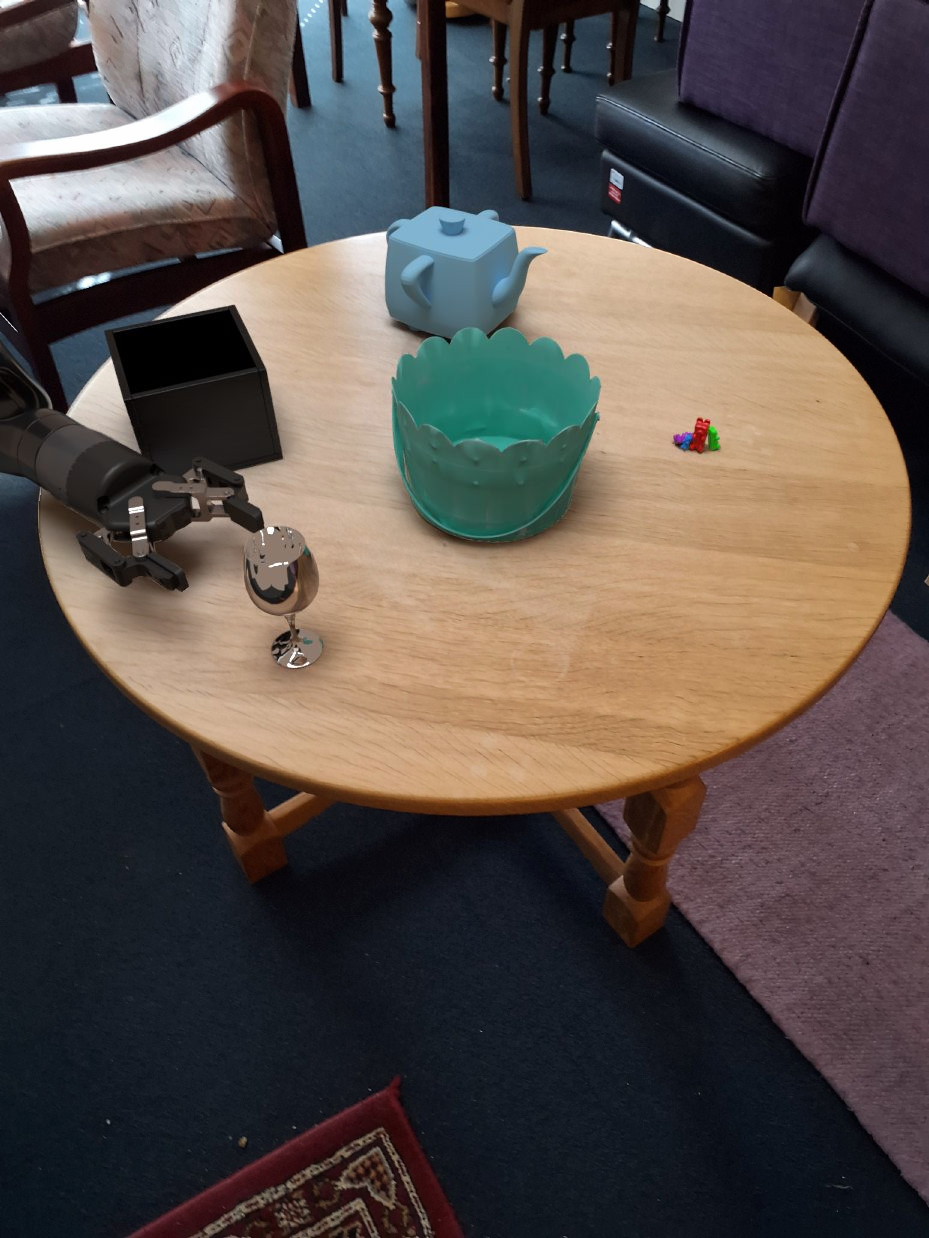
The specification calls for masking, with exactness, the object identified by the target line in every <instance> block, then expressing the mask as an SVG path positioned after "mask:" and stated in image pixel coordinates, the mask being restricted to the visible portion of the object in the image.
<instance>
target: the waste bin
mask: <svg viewBox="0 0 929 1238" xmlns="http://www.w3.org/2000/svg"><path fill="white" fill-rule="evenodd" d="M103 333H104V336H105V340H106V344H107V348H108V351H109V355H110V358H111V361H112V365H113V369H114V373H115V377H116V379H117V383H118V387H119V390H120V394H121V397H122V401H123V404H124V406H125V407H124V408H125V410H126V413H127V416H128V419H129V422H130V425H131V428H132V431H133V434H134V437H135V440H136V443H137V445H138V450H139V452H140V454H141V455H143V456H145V457H147V458H148V459H150V460H152V461H153V462H155V463H156V464H157V465H159V466H160V467H161V468H162V469H163V470H164V471H165V472H166V473H169V474H174V475H181V476H182V475H184V474H185V473H187V472H188V471H189V470H191V469H192V468H193V465H192V459H193V458H195V457H204V458H206V459H208V460H210V461H212V462H214V463H216V464H219V465H221V466H223V467H225V468H227V469H229V470H231V471H234V472H235V471H238V470H242V469H247V468H251V467H254V466H259V465H262V464H267V463H271V462H274V461H279V460H282V459H284V453H283V449H282V443H281V439H280V434H279V433H280V432H279V428H278V422H277V418H276V411H275V406H274V402H273V397H272V392H271V390H272V389H271V385H270V381H269V377H268V376H269V375H268V370H267V367H266V365H265V363H264V361H263V359H262V357H261V355H260V352H259V351H258V348H257V347H256V344H255V342H254V341H253V338H252V337H251V335H250V332H249V330H248V329H247V327H246V324H245V322H244V321H243V319H242V316H241V314H240V312H239V310H238V307H237V306H236V304H230V305H224V306H220V307H215V308H208V309H204V310H199V311H195V312H190V313H184V314H179V315H175V316H170V317H165V318H159V319H154V320H150V321H144V322H139V323H135V324H130V325H124V326H118V327H115V328H114V327H113V328H110V329H109V328H108V329H104V330H103Z"/></svg>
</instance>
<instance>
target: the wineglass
mask: <svg viewBox="0 0 929 1238" xmlns="http://www.w3.org/2000/svg"><path fill="white" fill-rule="evenodd" d="M242 557H243V559H242V574H243V582H244V586H245V590H246V592H247V595H248V597H249V599H250V601H251V602H252V604H254V606H255V607H257V609H259V610H260V611H262V612H264V613H265V614H268V615H270V616H275V617H284V619H285V620H286V621H287V624H288V626H289V630H286V631H284V632H282V633H281V634H280V635H278V636H277V637H276V638H275V639H274V641H273V642H272V645H271V647H270V655H271V658H272V660H273V661H274V663H276V664H278V665H279V666H280V667H283V668H285V669H291V670H292V669H293V670H294V669H295V670H296V669H302V668H303V669H304V668H306V667H308V666H310V665H312V664H314V663H315V662H316V661H317V660H318V659H319V658H320V657H321V655H322V653H323V650H324V642H323V638H321V636H320V635H319V634H318V633H316V631H313V630H311V629H307V628H297V627H296V615H297V614H299V613H301V612H302V611H304V610H305V609H306V608H308V607H309V606H311V604H312V603H313V602H314V599H315V598H316V596H317V595H318V591H319V587H320V574H319V569H318V565H317V562H316V558H315V556H314V554H313V552H312V549H311V547H310V545H309V544H308V542H307V540H306V538H305V536H304V535H303V534H302V532H300V531H299V530H297V529H296V528H293V527H291V526H285V525H274V526H272V525H271V526H268V527H265V528H264V529H262V530H259V531H258V532H256V533H254V534H253V533H252V535H251V536H249V538H248V539H247V540H246V542H245V544H244V549H243V556H242Z"/></svg>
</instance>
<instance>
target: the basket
mask: <svg viewBox="0 0 929 1238" xmlns="http://www.w3.org/2000/svg"><path fill="white" fill-rule="evenodd" d="M589 365H590V364H589V362H588V361H587V358H586V357H585V356H584V355H583V354H581V353H577V352H575V353H571V354H569V355H568V356H566V357H565V355H564V352H563V350H562V347H561V346H560V345H559V343H558V342H557V341H556V340H554V339H553V338H551V337H548V336H540V337H538V338H536V339H534V340H533V341H531V343H530V344H529V341H528V339H527V338H526V336H525V335H524V333H522V332H521V331H520V330H518V329H516V328H513V327H502V328H500V329H497V330H496V331H495V332H494V333H493V334H492V335H491V336H490V338H489V337H488V335H486V334H485V333H484V332H482V331H481V330H480V329H478V328H473V327H469V328H464V329H462V330H460V331H458V332H457V333H456V334H455V336H454V337H453V339H452V340H451V339H450V343H448V342H447V340H446V339H444V337H442V336H439V335H435V336H430V337H428V338H425V340H423V341H422V342H421V344H420V345H419V347H418V350H417V352H416V357H415V356H414V355H413V354H411V353H409V352H408V353H407V352H406V353H403V354H402V355H401V356H400V357H399V359H398V360H397V365H396V370H395V371H396V372H395V377H394V376H391V377H390V381H391V383H390V384H391V387H392V388H391V395H392V396H391V398H392V399H391V400H392V401H391V425H392V440H393V448H394V454H395V459H396V463H397V466H398V470H399V473H400V476H401V479H402V481H403V483H404V486H405V488H406V490H407V493H408V494H409V496H410V499H411V503H412V505H413V506H414V509H415V510H417V512H418V514H419V515H421V517H422V518H423V520H426V522H427V523H429V524H430V525H433V527H434V528H436V529H439V530H440V531H441V532H444V533H446V534H448V535H450V536H454V537H456V538H461V539H464V540H467V541H470V540H471V541H472V542H481V543H490V544H491V543H492V544H495V543H506V542H510V543H511V542H514V541H521V540H524V539H528V538H530V537H533V536H537V535H538V534H540V533H544V532H545V531H546V530H548V529H550V528H552V526H555V525H556V524H557V523H558V522H559V521H560V520H561V519H562V518H563V517H564V516H565V515H566V513H567V511H568V510H569V508H570V506H571V504H572V501H573V497H574V491H575V489H576V485H577V481H578V476H579V473H580V469H581V465H582V462H583V460H584V457H585V455H586V453H587V450H588V448H589V446H590V443H591V440H592V438H593V434H594V431H595V429H596V425H597V423H598V422H600V419H601V415H600V411H597V412H596V410H597V406H598V404H599V399H600V394H601V388H602V383H601V379H600V377H599V376H597V375H594V376H593V377H591V370H590V366H589Z"/></svg>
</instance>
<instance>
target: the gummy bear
mask: <svg viewBox="0 0 929 1238" xmlns="http://www.w3.org/2000/svg"><path fill="white" fill-rule="evenodd" d="M710 425H711V420H710V419H708V418H706V419H704V418H703V417H700V416H699V417H697V418H696V422H695V424H694V431H693V432H688V431H685V432H683V433H681V434H680V433H677V434H674V435H673V436H672V437H673V438H672V439H673V444H674V445H679V444H682V445H680V448H681V449H683V450H684V451H685V450H691V451H693V450H697V452H699V453H702V452H703V450H704V449H705V446H706V440H707V444H708V447H709V449H710V451H715V450H718V449H721V444H719V440H720V439H721V438H720V437H721V436H718V434H719V432H718V430H716V427H715V426H713V425H711V426H710Z"/></svg>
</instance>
